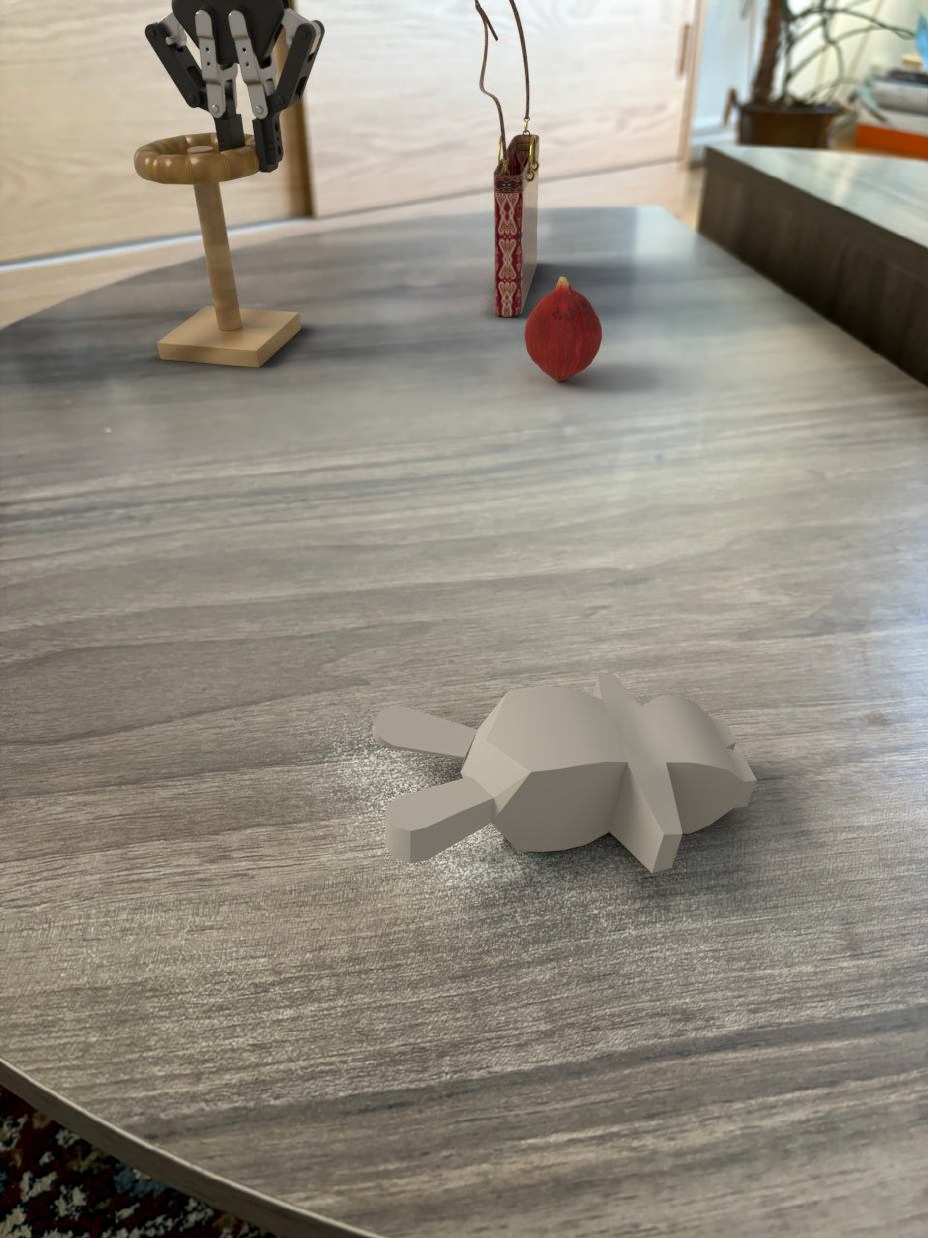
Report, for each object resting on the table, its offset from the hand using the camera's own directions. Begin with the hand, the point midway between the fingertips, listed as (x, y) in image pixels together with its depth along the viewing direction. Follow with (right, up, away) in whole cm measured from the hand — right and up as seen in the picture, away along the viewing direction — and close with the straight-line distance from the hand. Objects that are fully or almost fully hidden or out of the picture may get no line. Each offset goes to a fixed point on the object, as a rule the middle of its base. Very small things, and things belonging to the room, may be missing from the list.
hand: (253, 168), depth 76 cm
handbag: (+20, -2, +21) cm, 29 cm away
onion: (+24, -16, +2) cm, 29 cm away
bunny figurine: (+20, -43, -34) cm, 58 cm away
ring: (-4, +1, +1) cm, 4 cm away
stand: (-4, -11, +9) cm, 15 cm away
